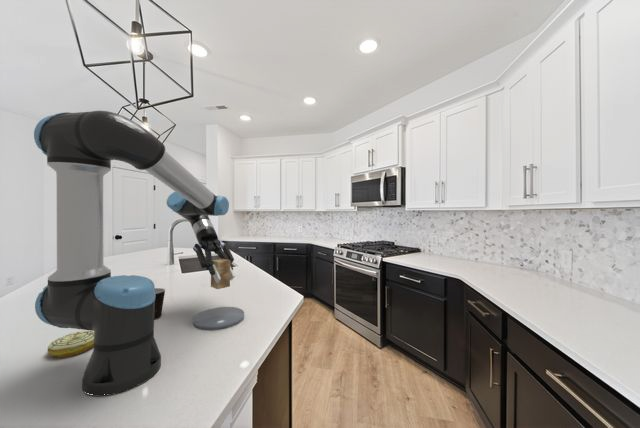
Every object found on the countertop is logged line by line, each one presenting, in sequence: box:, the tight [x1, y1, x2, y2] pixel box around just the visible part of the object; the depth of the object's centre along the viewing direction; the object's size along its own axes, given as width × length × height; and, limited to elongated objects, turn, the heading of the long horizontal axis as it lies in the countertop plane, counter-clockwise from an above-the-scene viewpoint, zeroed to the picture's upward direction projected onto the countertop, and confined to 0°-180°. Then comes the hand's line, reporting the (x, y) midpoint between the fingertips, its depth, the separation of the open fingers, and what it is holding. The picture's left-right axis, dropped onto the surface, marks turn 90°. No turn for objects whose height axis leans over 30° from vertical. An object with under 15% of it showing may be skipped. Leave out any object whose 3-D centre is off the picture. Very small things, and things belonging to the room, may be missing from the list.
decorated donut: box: [47, 330, 94, 358], centre depth 72 cm, size 10×11×4 cm
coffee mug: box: [154, 287, 166, 321], centre depth 94 cm, size 12×9×10 cm
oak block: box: [210, 258, 231, 290], centre depth 94 cm, size 5×5×10 cm
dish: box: [192, 306, 245, 331], centre depth 94 cm, size 18×18×2 cm
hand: (225, 279), depth 92 cm, fingers closed on oak block, 5 cm apart
